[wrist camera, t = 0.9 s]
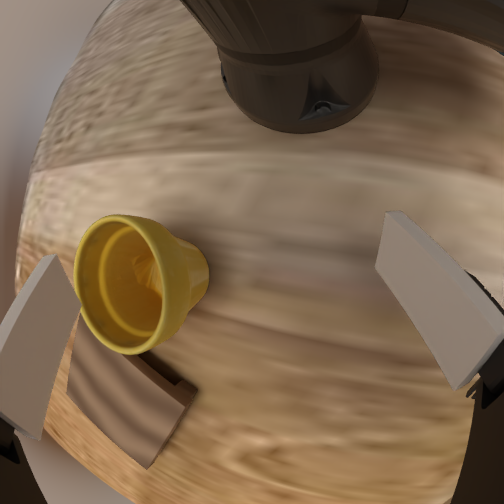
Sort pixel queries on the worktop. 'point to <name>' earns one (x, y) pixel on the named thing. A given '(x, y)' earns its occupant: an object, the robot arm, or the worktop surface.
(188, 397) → the walnut stand
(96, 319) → the plant pot
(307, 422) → the worktop surface
